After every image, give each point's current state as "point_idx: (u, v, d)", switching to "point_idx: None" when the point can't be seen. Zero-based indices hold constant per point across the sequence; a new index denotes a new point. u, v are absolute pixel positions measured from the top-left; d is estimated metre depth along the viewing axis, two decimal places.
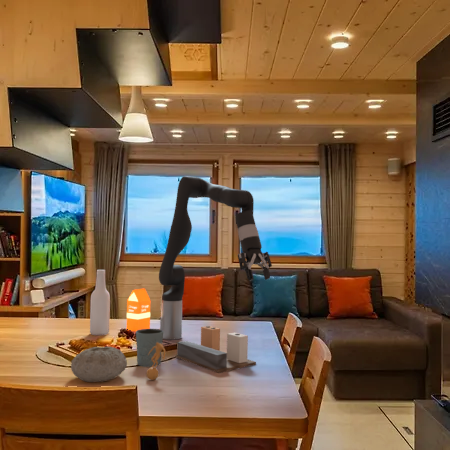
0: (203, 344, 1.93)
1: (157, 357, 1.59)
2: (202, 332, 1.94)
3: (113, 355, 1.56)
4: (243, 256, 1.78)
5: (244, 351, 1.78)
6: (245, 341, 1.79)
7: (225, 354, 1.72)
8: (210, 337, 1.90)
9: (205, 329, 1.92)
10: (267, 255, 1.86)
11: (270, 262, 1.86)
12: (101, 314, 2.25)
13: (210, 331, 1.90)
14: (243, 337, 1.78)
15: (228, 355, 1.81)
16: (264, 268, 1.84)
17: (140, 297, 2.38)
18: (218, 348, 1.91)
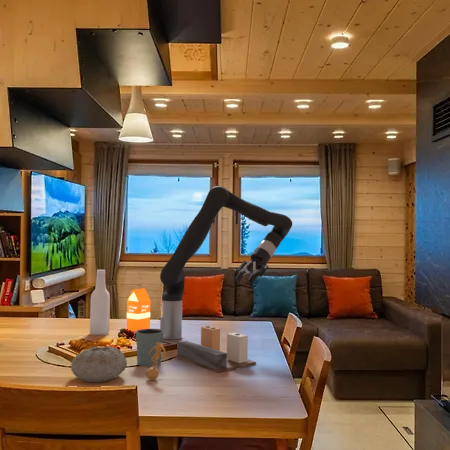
0: (203, 344, 1.93)
1: (157, 357, 1.59)
2: (202, 332, 1.94)
3: (113, 355, 1.56)
4: None
5: (244, 351, 1.78)
6: (245, 341, 1.79)
7: (225, 354, 1.72)
8: (210, 337, 1.90)
9: (205, 329, 1.92)
10: None
11: None
12: (101, 314, 2.25)
13: (210, 331, 1.90)
14: (243, 337, 1.78)
15: (228, 355, 1.81)
16: (242, 273, 2.05)
17: (140, 297, 2.38)
18: (218, 348, 1.91)
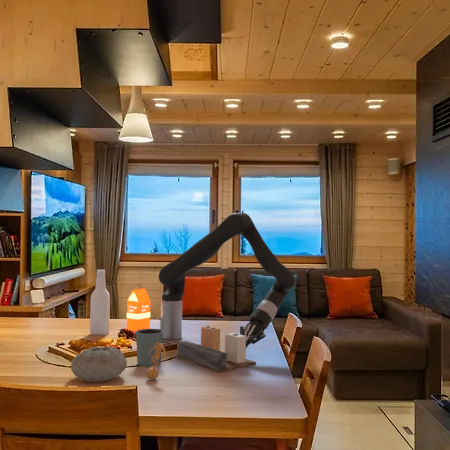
0: (203, 344, 1.93)
1: (157, 357, 1.59)
2: (202, 332, 1.94)
3: (113, 355, 1.56)
4: None
5: (242, 351, 1.78)
6: (243, 341, 1.78)
7: (225, 354, 1.72)
8: (210, 337, 1.90)
9: (205, 329, 1.92)
10: None
11: None
12: (101, 314, 2.25)
13: (210, 331, 1.90)
14: (241, 337, 1.77)
15: None
16: None
17: (140, 297, 2.38)
18: (218, 348, 1.91)
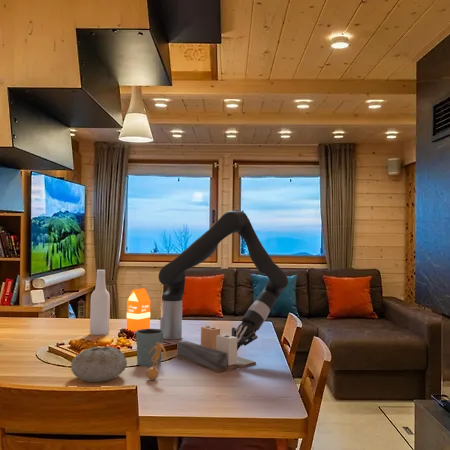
0: (203, 344, 1.93)
1: (157, 357, 1.59)
2: (202, 332, 1.94)
3: (113, 355, 1.56)
4: None
5: (233, 353, 1.75)
6: (234, 343, 1.75)
7: (225, 354, 1.72)
8: (210, 337, 1.90)
9: (205, 329, 1.92)
10: None
11: None
12: (101, 314, 2.25)
13: (210, 331, 1.90)
14: (232, 339, 1.75)
15: None
16: None
17: (140, 297, 2.38)
18: None
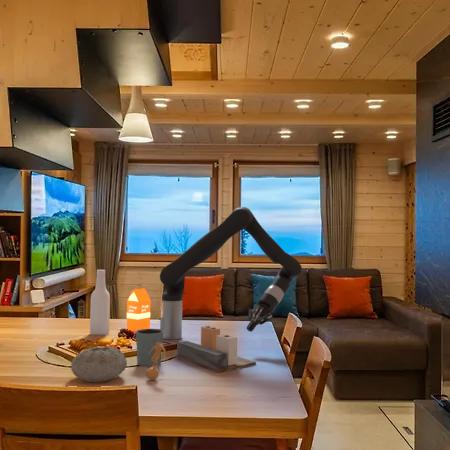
0: (203, 344, 1.93)
1: (157, 357, 1.59)
2: (202, 332, 1.94)
3: (113, 355, 1.56)
4: None
5: (233, 353, 1.75)
6: (234, 343, 1.75)
7: (225, 354, 1.72)
8: (210, 337, 1.90)
9: (205, 329, 1.92)
10: None
11: None
12: (101, 314, 2.25)
13: (210, 331, 1.90)
14: (232, 339, 1.75)
15: None
16: None
17: (140, 297, 2.38)
18: None
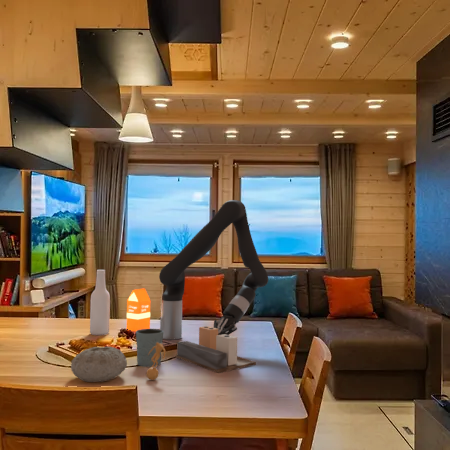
0: (201, 344, 1.92)
1: (157, 357, 1.59)
2: (200, 332, 1.93)
3: (113, 355, 1.56)
4: None
5: (233, 353, 1.75)
6: (234, 343, 1.75)
7: (225, 354, 1.72)
8: (209, 337, 1.89)
9: (203, 329, 1.92)
10: None
11: None
12: (101, 314, 2.25)
13: (208, 331, 1.89)
14: (232, 339, 1.75)
15: None
16: None
17: (140, 297, 2.38)
18: None
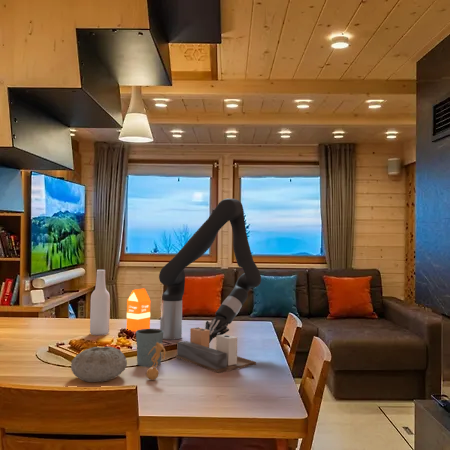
0: None
1: (157, 357, 1.59)
2: (191, 334, 1.90)
3: (113, 355, 1.56)
4: None
5: (233, 353, 1.75)
6: (234, 343, 1.75)
7: (225, 354, 1.72)
8: (200, 339, 1.86)
9: (194, 331, 1.89)
10: None
11: None
12: (101, 314, 2.25)
13: (199, 333, 1.86)
14: (232, 339, 1.75)
15: None
16: (210, 335, 1.93)
17: (140, 297, 2.38)
18: None
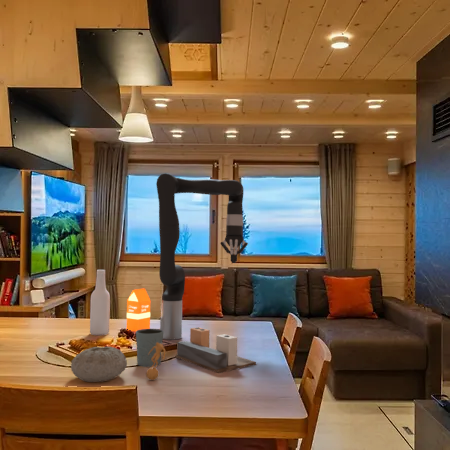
0: None
1: (157, 357, 1.59)
2: (191, 334, 1.90)
3: (113, 355, 1.56)
4: None
5: (233, 353, 1.75)
6: (234, 343, 1.75)
7: (225, 354, 1.72)
8: (200, 339, 1.86)
9: (194, 331, 1.89)
10: None
11: None
12: (101, 314, 2.25)
13: (199, 333, 1.86)
14: (232, 339, 1.75)
15: None
16: (233, 253, 2.21)
17: (140, 297, 2.38)
18: None
